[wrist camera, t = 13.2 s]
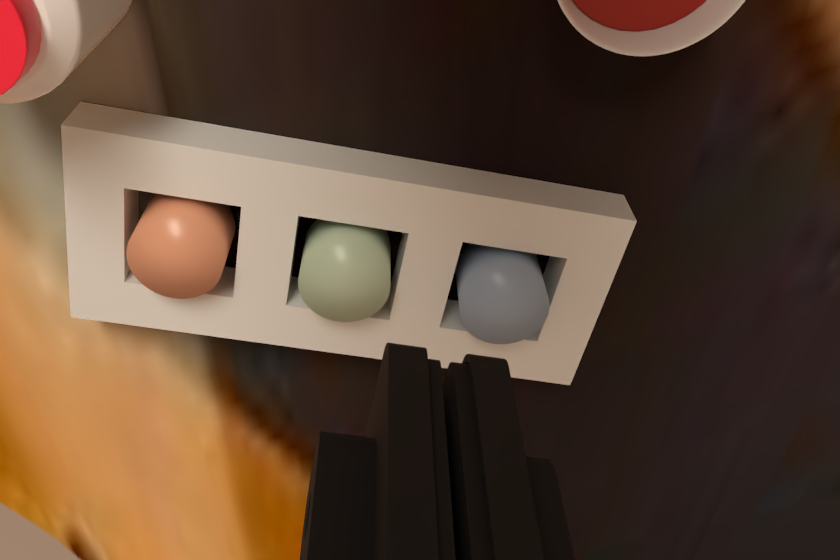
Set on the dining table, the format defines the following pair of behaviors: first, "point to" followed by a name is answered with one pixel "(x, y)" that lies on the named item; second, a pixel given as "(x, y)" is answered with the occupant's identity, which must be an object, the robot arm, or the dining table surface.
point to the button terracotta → (181, 245)
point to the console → (339, 202)
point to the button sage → (345, 270)
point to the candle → (647, 23)
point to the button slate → (500, 293)
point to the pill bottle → (49, 41)
